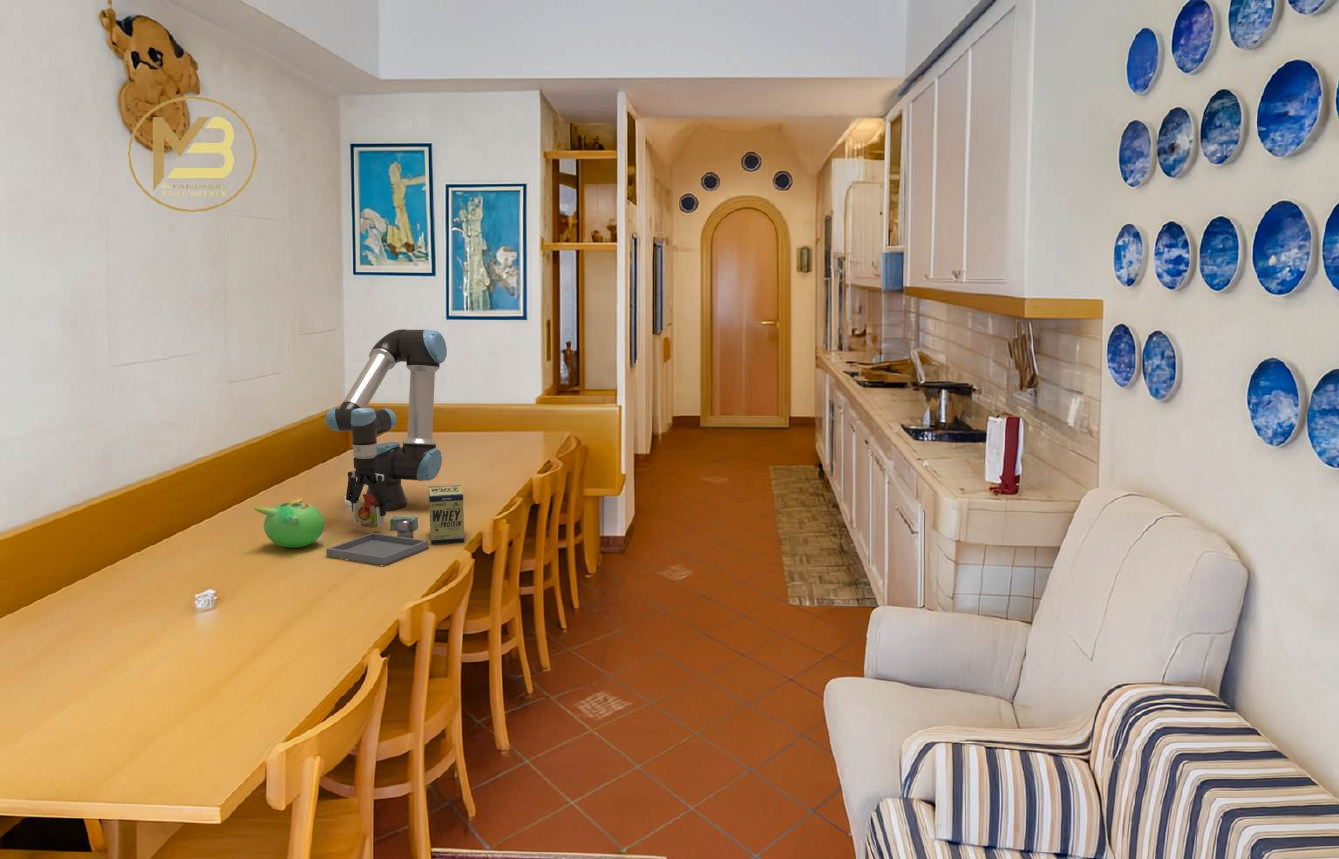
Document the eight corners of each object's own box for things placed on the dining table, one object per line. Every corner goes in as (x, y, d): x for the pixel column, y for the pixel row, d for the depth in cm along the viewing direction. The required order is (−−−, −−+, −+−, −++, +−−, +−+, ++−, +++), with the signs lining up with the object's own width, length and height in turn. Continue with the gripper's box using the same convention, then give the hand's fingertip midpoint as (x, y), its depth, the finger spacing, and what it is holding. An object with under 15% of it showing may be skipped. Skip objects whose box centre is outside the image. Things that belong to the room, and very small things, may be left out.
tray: (373, 540, 301) (372, 532, 301) (428, 548, 292) (428, 540, 292) (326, 556, 283) (326, 548, 283) (384, 566, 274) (384, 558, 274)
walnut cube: (373, 522, 323) (372, 508, 322) (384, 524, 321) (384, 509, 320) (362, 526, 319) (362, 511, 318) (374, 527, 317) (373, 513, 316)
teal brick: (394, 528, 317) (393, 516, 316) (418, 528, 316) (417, 516, 316) (390, 531, 313) (390, 519, 312) (414, 531, 312) (414, 519, 312)
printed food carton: (359, 534, 307) (383, 523, 306) (344, 503, 305) (368, 492, 304) (366, 528, 313) (390, 518, 312) (351, 498, 311) (375, 488, 310)
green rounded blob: (336, 542, 299) (333, 497, 296) (299, 557, 283) (296, 509, 281) (289, 537, 304) (287, 492, 302) (251, 551, 289) (247, 504, 286)
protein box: (431, 545, 296) (429, 496, 294) (429, 532, 311) (428, 486, 309) (465, 542, 299) (463, 494, 297) (462, 530, 314) (460, 484, 311)
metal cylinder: (404, 535, 306) (403, 517, 306) (416, 537, 304) (416, 519, 303) (394, 539, 302) (393, 521, 301) (406, 541, 300) (405, 523, 299)
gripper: (331, 455, 306) (335, 522, 310) (384, 461, 297) (387, 530, 301) (347, 451, 313) (351, 517, 317) (400, 457, 304) (403, 524, 308)
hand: (369, 523), depth 309 cm, fingers closed on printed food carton, 9 cm apart
